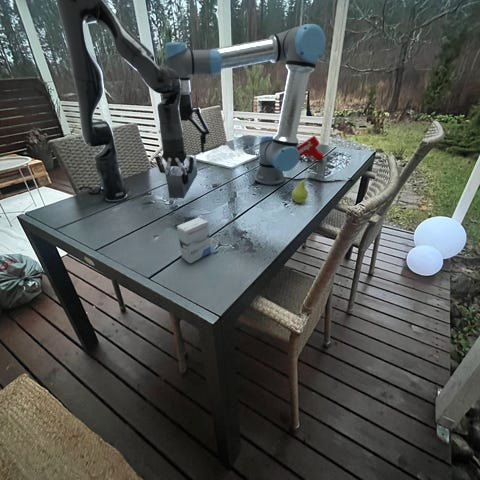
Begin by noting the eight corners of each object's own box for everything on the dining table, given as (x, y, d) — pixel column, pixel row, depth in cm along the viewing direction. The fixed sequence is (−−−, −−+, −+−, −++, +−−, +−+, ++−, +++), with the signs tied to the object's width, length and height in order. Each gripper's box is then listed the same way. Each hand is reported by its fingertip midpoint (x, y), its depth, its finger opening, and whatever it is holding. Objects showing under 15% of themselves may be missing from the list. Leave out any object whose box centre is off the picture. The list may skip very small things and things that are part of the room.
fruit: (288, 200, 123) (290, 174, 116) (302, 197, 125) (305, 172, 119) (296, 206, 118) (299, 179, 111) (310, 203, 120) (314, 177, 114)
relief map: (231, 168, 161) (231, 160, 158) (189, 159, 179) (189, 151, 176) (257, 158, 179) (257, 150, 176) (217, 150, 197) (216, 142, 194)
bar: (185, 174, 122) (183, 155, 117) (197, 174, 122) (195, 155, 117) (169, 198, 100) (165, 175, 95) (184, 198, 100) (181, 175, 95)
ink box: (202, 246, 92) (199, 215, 85) (211, 252, 89) (209, 221, 82) (180, 257, 87) (176, 225, 80) (190, 264, 84) (185, 231, 77)
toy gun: (327, 155, 171) (314, 135, 167) (326, 157, 167) (314, 136, 164) (302, 170, 181) (290, 151, 177) (301, 172, 177) (288, 153, 174)
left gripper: (147, 138, 89) (156, 187, 99) (190, 139, 89) (195, 187, 98) (154, 133, 96) (162, 179, 105) (195, 134, 95) (199, 180, 104)
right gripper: (144, 94, 98) (154, 153, 110) (212, 94, 97) (215, 154, 108) (151, 92, 105) (159, 148, 116) (215, 92, 103) (217, 149, 115)
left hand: (178, 183), depth 101 cm, fingers closed on bar, 5 cm apart
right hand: (186, 151), depth 112 cm, fingers open, 13 cm apart
